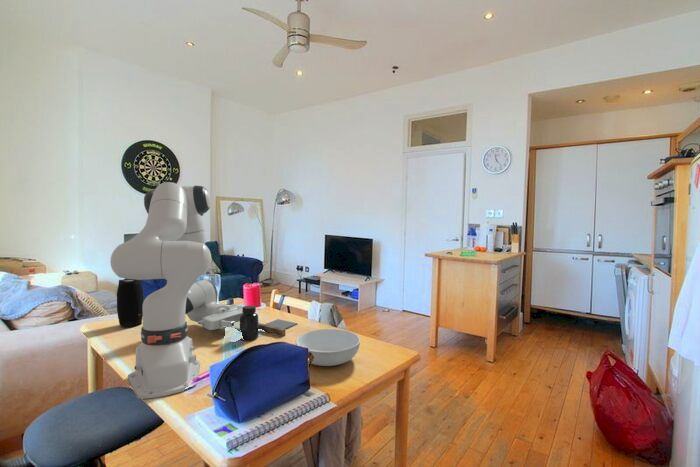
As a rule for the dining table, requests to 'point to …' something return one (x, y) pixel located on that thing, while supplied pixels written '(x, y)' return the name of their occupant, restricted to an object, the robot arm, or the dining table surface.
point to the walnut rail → (272, 329)
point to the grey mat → (281, 324)
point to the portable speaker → (130, 302)
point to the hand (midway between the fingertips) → (242, 321)
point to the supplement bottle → (249, 323)
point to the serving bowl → (330, 346)
